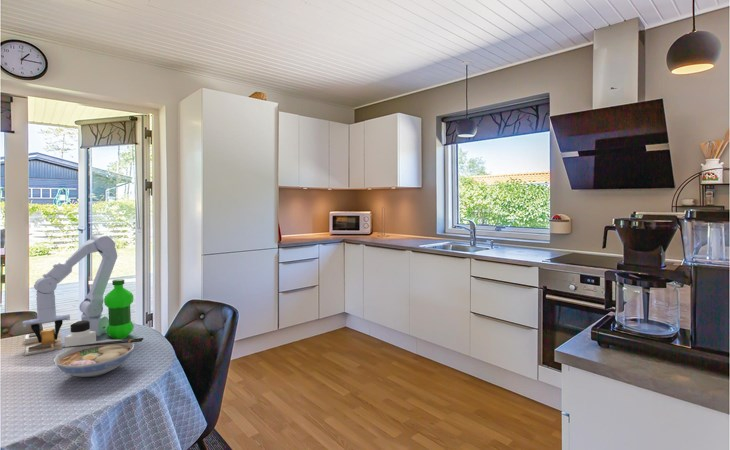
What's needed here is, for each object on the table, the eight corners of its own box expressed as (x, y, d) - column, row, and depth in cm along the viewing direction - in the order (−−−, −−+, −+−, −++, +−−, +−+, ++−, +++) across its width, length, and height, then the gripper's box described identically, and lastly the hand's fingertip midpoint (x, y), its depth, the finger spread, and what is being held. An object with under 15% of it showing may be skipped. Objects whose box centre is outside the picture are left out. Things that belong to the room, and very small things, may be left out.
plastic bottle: (102, 342, 158) (99, 283, 156) (112, 333, 168) (110, 278, 166) (129, 340, 160) (127, 282, 158) (137, 332, 170) (135, 277, 168)
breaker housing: (44, 340, 156) (44, 335, 155) (25, 344, 152) (25, 339, 152) (44, 336, 160) (44, 331, 160) (25, 339, 156) (25, 335, 156)
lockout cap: (58, 340, 155) (57, 329, 155) (48, 345, 151) (47, 332, 150) (48, 340, 156) (47, 328, 155) (38, 344, 151) (37, 332, 151)
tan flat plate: (62, 352, 147) (61, 348, 147) (23, 360, 140) (23, 356, 140) (60, 336, 165) (60, 332, 165) (26, 342, 158) (26, 338, 157)
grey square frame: (53, 350, 146) (53, 348, 146) (25, 355, 141) (25, 353, 140) (53, 343, 152) (53, 342, 152) (26, 349, 147) (26, 347, 147)
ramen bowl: (34, 393, 116) (33, 367, 116) (70, 362, 138) (69, 340, 138) (126, 383, 123) (125, 358, 122) (146, 355, 145) (146, 334, 144)
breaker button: (40, 340, 156) (40, 334, 156) (29, 342, 154) (29, 336, 153) (40, 337, 158) (40, 332, 158) (30, 339, 156) (29, 333, 156)
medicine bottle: (97, 348, 151) (95, 319, 151) (82, 355, 144) (80, 324, 144) (80, 347, 152) (79, 318, 151) (64, 354, 145) (63, 324, 144)
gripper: (68, 302, 160) (70, 333, 161) (22, 308, 151) (24, 341, 152) (69, 305, 155) (71, 338, 155) (21, 312, 145) (23, 347, 146)
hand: (48, 340), depth 153 cm, fingers closed on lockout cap, 4 cm apart
